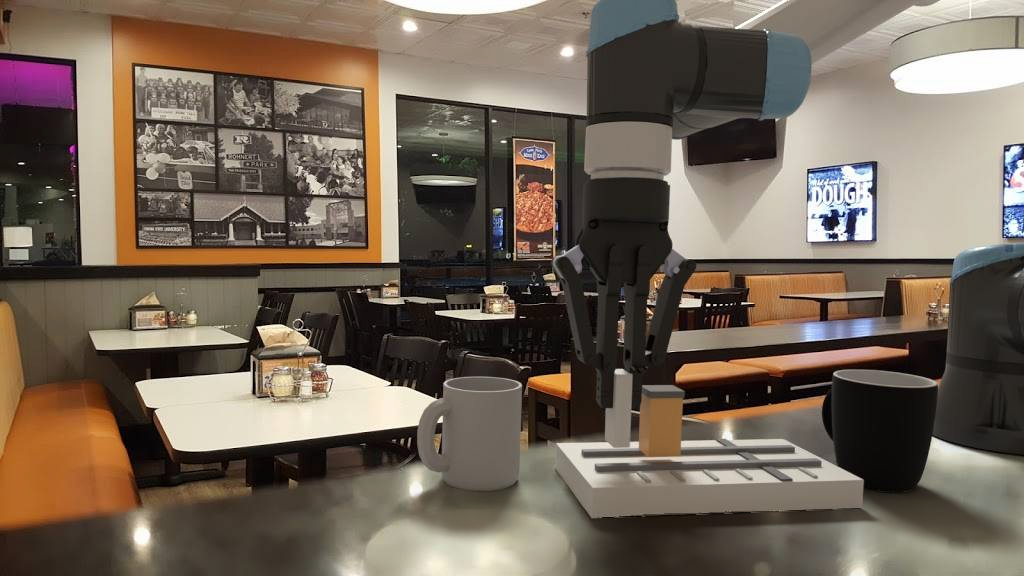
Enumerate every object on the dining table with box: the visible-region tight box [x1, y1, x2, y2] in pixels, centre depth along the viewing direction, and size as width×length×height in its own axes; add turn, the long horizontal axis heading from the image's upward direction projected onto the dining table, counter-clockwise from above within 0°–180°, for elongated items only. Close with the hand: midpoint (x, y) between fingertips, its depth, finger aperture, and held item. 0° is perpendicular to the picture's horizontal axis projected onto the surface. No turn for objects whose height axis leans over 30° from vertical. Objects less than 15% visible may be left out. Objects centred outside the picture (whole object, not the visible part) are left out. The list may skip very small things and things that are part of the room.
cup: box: [416, 376, 523, 492], centre depth 67 cm, size 7×10×9 cm
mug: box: [821, 369, 939, 494], centre depth 71 cm, size 12×9×10 cm
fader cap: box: [638, 384, 686, 457], centre depth 66 cm, size 3×3×6 cm
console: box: [554, 438, 864, 519], centre depth 67 cm, size 24×13×3 cm, turn 100°
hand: (617, 443), depth 66 cm, fingers closed
